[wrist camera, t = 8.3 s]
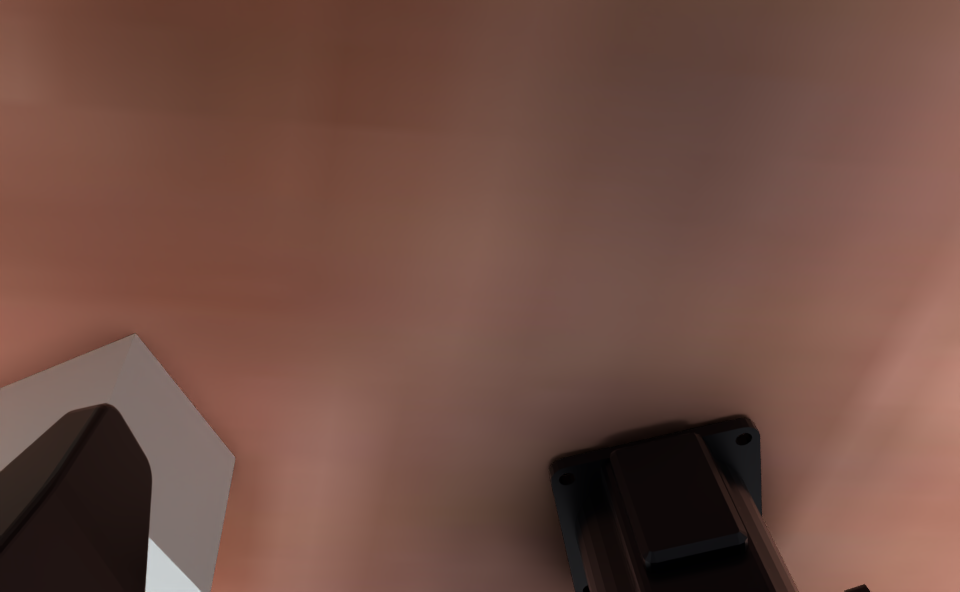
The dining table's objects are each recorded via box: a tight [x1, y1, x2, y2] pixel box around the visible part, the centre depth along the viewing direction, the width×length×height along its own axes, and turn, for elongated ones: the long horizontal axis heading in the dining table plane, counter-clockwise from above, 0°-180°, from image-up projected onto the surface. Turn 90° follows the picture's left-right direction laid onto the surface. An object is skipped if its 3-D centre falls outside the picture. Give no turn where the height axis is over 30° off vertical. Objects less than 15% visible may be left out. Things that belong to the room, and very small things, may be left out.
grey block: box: [0, 333, 235, 592], centre depth 22 cm, size 5×5×5 cm
